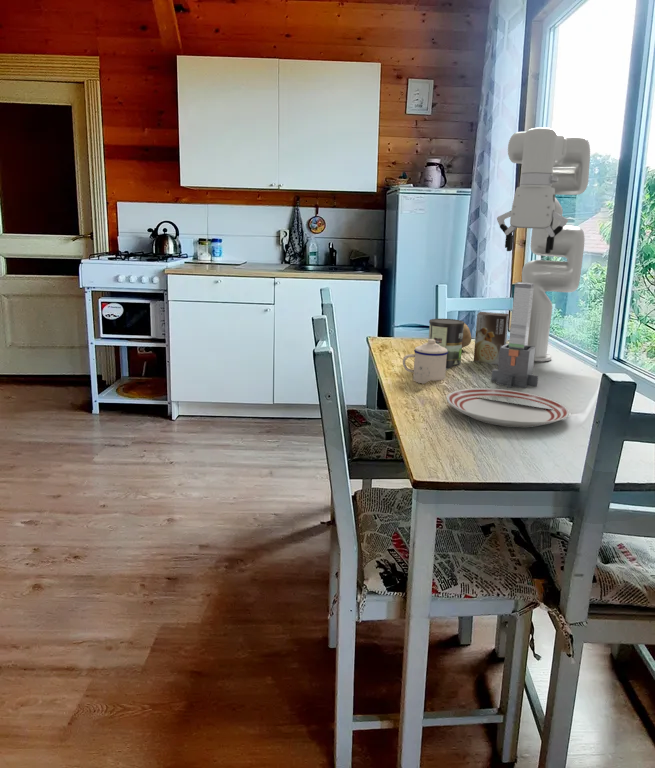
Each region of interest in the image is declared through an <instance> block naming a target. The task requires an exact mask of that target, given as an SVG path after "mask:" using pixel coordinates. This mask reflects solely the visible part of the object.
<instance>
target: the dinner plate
mask: <svg viewBox="0 0 655 768" xmlns="http://www.w3.org/2000/svg"><path fill="white" fill-rule="evenodd" d="M482 397H504V398H506V397H507V398H515V399H523V400H526V401H531V402H535V403H540V404H542V405H545V406H547V407H549V408H546V407H539V406H533V405H527V404H520V403H513V402H508V401H501V400H494V399H489V398H482ZM445 399H446V402H447V403H448V405H450V406H451V407H452V408H454V409H455V410H457V411H458V412H460V413H462V414H463V415H466V416H468V417H470V418H472V419H474V420H476V421H480V422H483V423H486V424H489V425H494V426H500V427H509V428H510V427H511V428H533V427H532V426H534V427H538V425H539V426H544V425H549V424H553V423H556V422H560V421H562V420H566V419H567V418H568V417H569V416H570V410H569V408H568V407H566V406H565V405H564V404H562V403H560V402H558V401H556V400H554V399H551V398H547V397H544V396H541V395H537V394H533V393H528V392H523V391H518V390H511V389H510V390H509V389H505V388H504V389H503V388H490V387H489V388H485V387H483V388H479V387H477V388H475V387H474V388H466V389H465V388H464V389H458V390H455V391H452V392H450V393H448V394H447V395H446V398H445Z"/></svg>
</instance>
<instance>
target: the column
mask: <svg viewBox="0 0 655 768" xmlns="http://www.w3.org/2000/svg"><path fill="white" fill-rule="evenodd" d="M533 291H534V283H523V282H522V281H521V282H520V281H518V282H515V283H514V291H513V292H514V293H513V300H512V302H513V303H512V308H511V310H512V311H511V321H510V330H509V338H508V339H509V340H508V343H509V348H512V349H520V350H527V344H528V335H529V326H530V317H531V308H532V299H533Z"/></svg>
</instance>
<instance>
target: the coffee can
mask: <svg viewBox="0 0 655 768" xmlns="http://www.w3.org/2000/svg"><path fill="white" fill-rule="evenodd" d="M464 323H465V321H464V320H460V319H455V318H432V319H429V327H428V330H429V331H428V340H429V339H434V340H435V343H436V344H439V345H440V346H441V347H444V348H446V349H447V351H448V354H447V359H446V371H448V370H450V369H451V368H453V367H457V366H460V365H461V364H462V363H461V362H462V350H463V348H462V341H463V328H464Z"/></svg>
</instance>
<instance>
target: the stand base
mask: <svg viewBox="0 0 655 768" xmlns="http://www.w3.org/2000/svg"><path fill="white" fill-rule="evenodd" d="M534 355H535V346H527V350H520V349H512V348H509V342H506V344H505V345H503V346H502V347H500V353H499V363H498V365H497V369H492V371H491V381H495V382H496V385H501V386H506V388H507V389H512V388H513V387H514V388H515V387H516V388H519V389H527V388H528V386H529V387H537V388H538V383H539V375H537V374H533V372H534V363H535V361H534Z"/></svg>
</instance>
